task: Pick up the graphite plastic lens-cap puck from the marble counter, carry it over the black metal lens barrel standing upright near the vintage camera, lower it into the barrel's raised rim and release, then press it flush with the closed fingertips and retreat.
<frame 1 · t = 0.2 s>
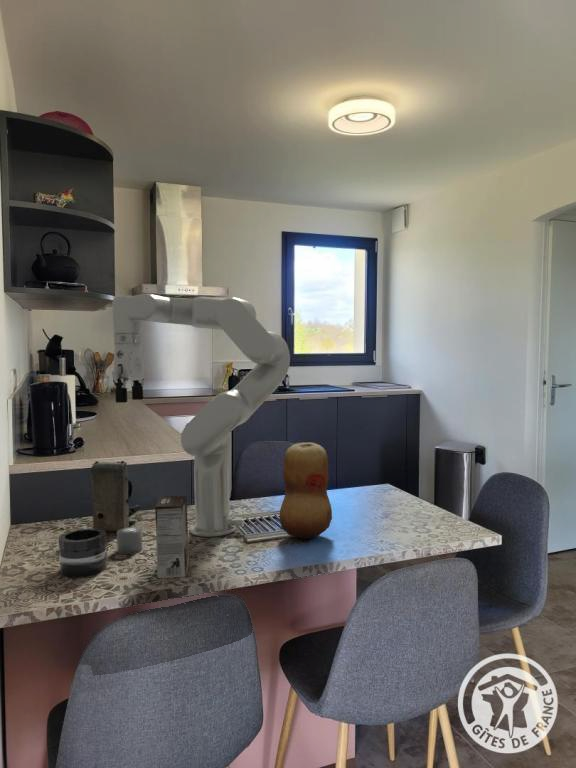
hand: (129, 400, 165), 36 cm above the breakfast bar, tool pointing down, fingers open, 9 cm apart
vintage camera: (118, 526, 168), on the breakfast bar
lens barrel: (83, 569, 134), on the breakfast bar
coffee box: (173, 571, 132), on the breakfast bar
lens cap: (130, 550, 147), on the breakfast bar
butternut squash: (306, 538, 153), on the breakfast bar
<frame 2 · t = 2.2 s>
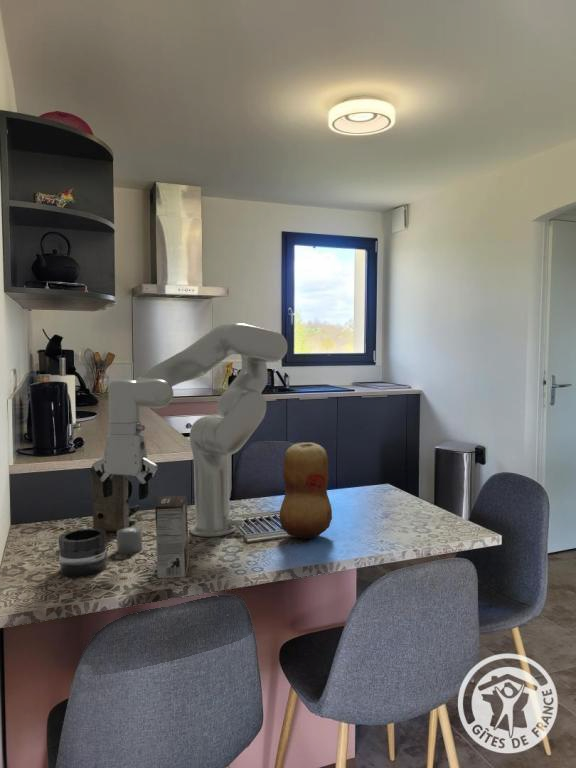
hand: (125, 497, 146), 14 cm above the breakfast bar, tool pointing down, fingers open, 9 cm apart
nothing on the breakfast bar moved.
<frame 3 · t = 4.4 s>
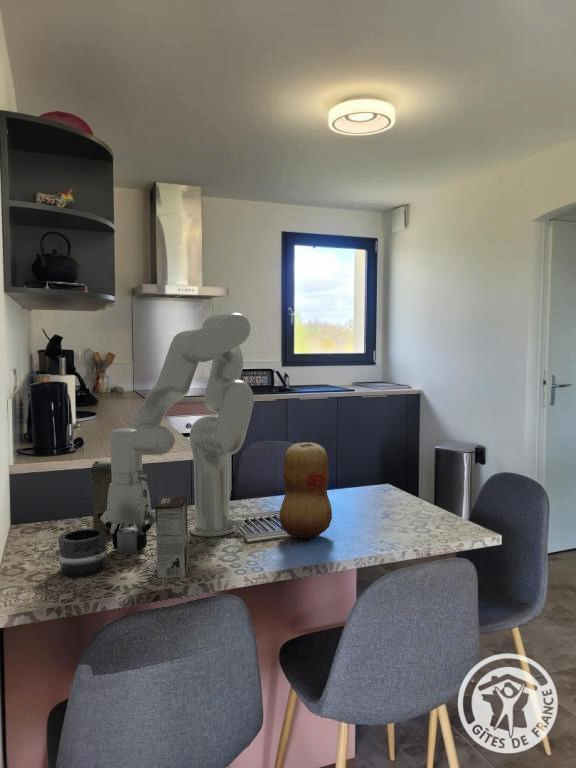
hand: (129, 547, 147), 1 cm above the breakfast bar, tool pointing down, fingers closed on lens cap, 5 cm apart
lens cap: (129, 550, 147), on the breakfast bar, touching gripper
everything else where it was.
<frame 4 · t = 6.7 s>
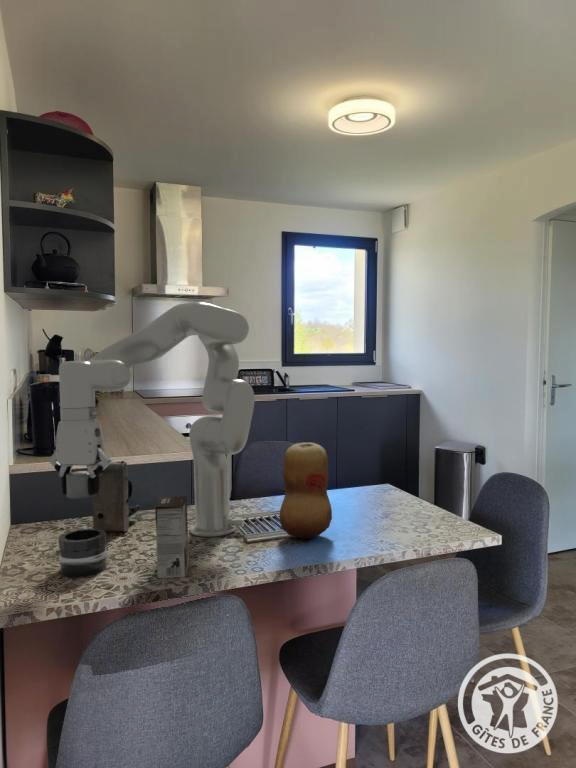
hand: (80, 492, 133), 18 cm above the breakfast bar, tool pointing down, fingers closed on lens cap, 5 cm apart
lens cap: (80, 495, 133), point 17 cm above the breakfast bar, touching gripper
everything else where it was.
when the fingers open (9 cm above the breakfast bar, at t = 9.1 s): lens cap drops 2 cm, resting on lens barrel.
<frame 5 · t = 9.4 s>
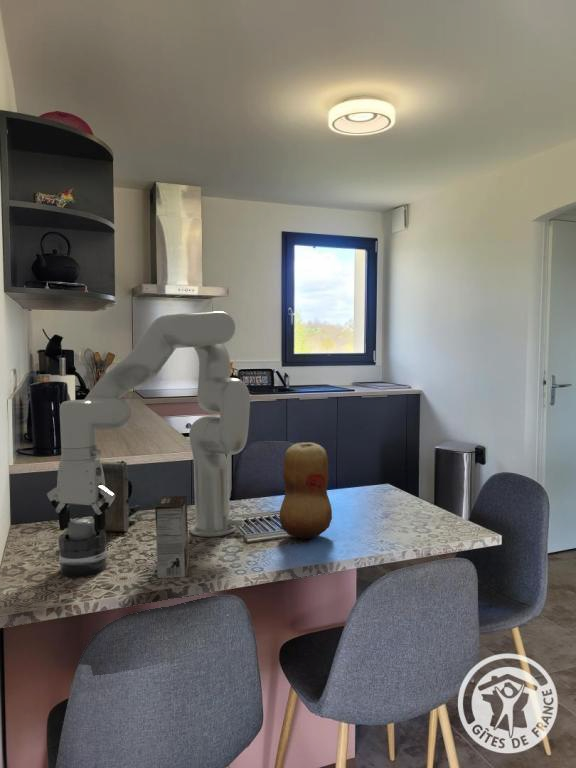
hand: (82, 529, 134), 9 cm above the breakfast bar, tool pointing down, fingers open, 8 cm apart
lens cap: (82, 543, 134), point 6 cm above the breakfast bar, touching lens barrel
everything else where it was.
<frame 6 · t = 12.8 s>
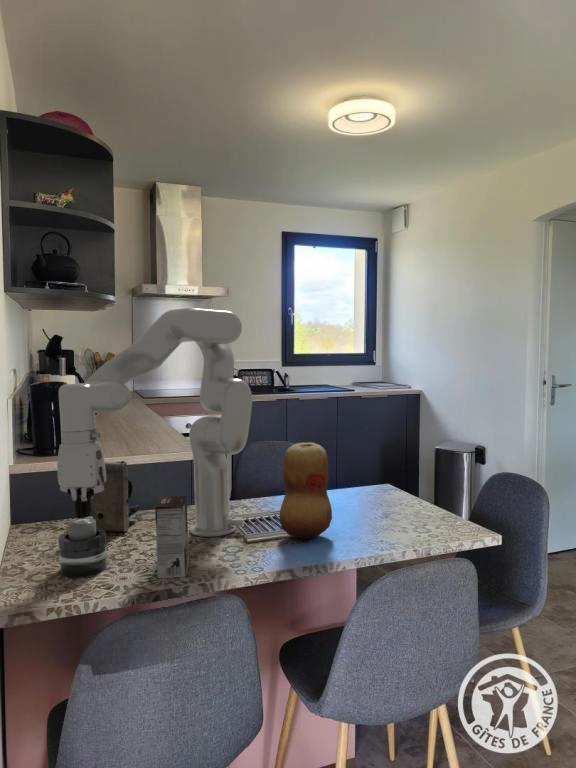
hand: (83, 516, 134), 12 cm above the breakfast bar, tool pointing down, fingers closed
nothing on the breakfast bar moved.
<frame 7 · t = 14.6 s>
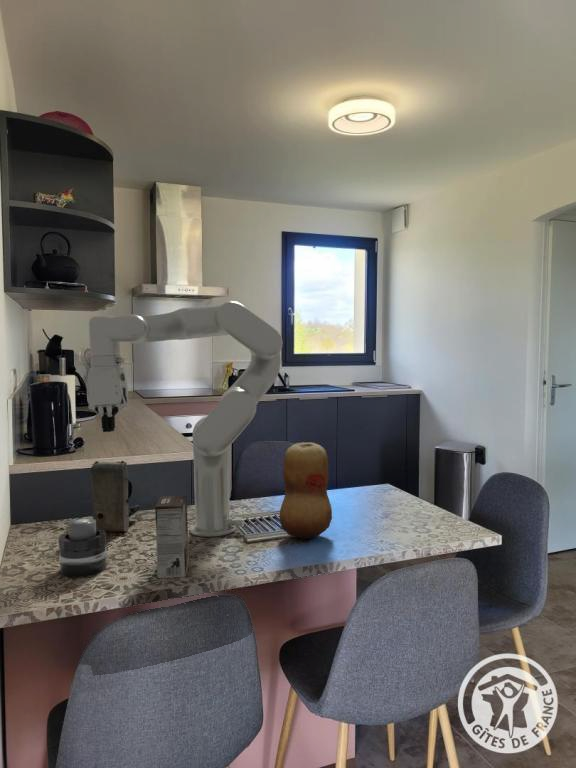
hand: (108, 431, 156), 29 cm above the breakfast bar, tool pointing down, fingers closed
nothing on the breakfast bar moved.
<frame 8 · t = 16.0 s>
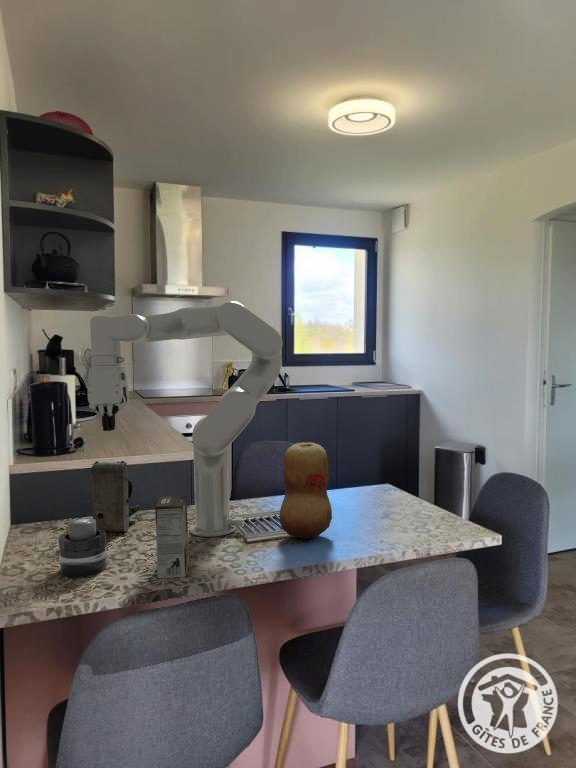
hand: (109, 430, 156), 29 cm above the breakfast bar, tool pointing down, fingers closed
nothing on the breakfast bar moved.
at the end: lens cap 0.0 cm off-centre on the lens barrel, point 6.0 cm above the lens barrel's base; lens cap tilted 0°; the gripper is holding nothing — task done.
